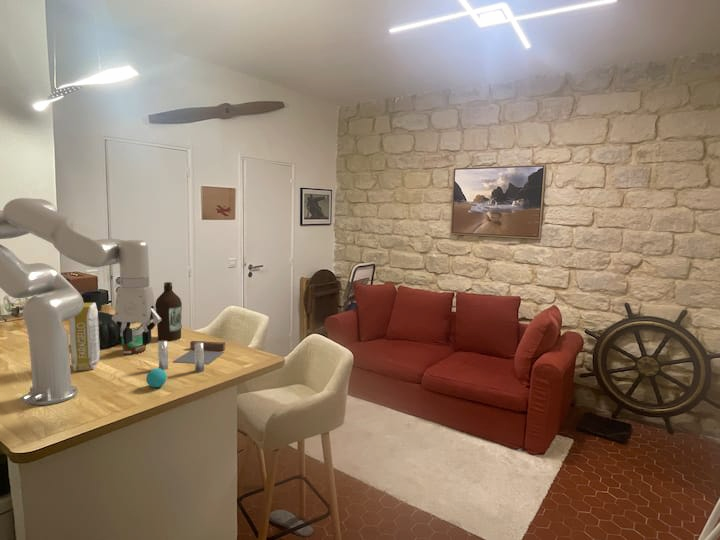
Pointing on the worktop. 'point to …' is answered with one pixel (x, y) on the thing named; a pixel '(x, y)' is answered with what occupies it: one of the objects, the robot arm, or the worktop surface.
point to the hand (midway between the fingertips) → (137, 342)
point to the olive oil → (169, 314)
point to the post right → (199, 357)
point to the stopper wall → (210, 345)
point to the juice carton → (85, 338)
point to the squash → (108, 330)
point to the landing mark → (190, 357)
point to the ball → (156, 378)
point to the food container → (134, 342)
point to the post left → (163, 354)
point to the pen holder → (93, 298)
